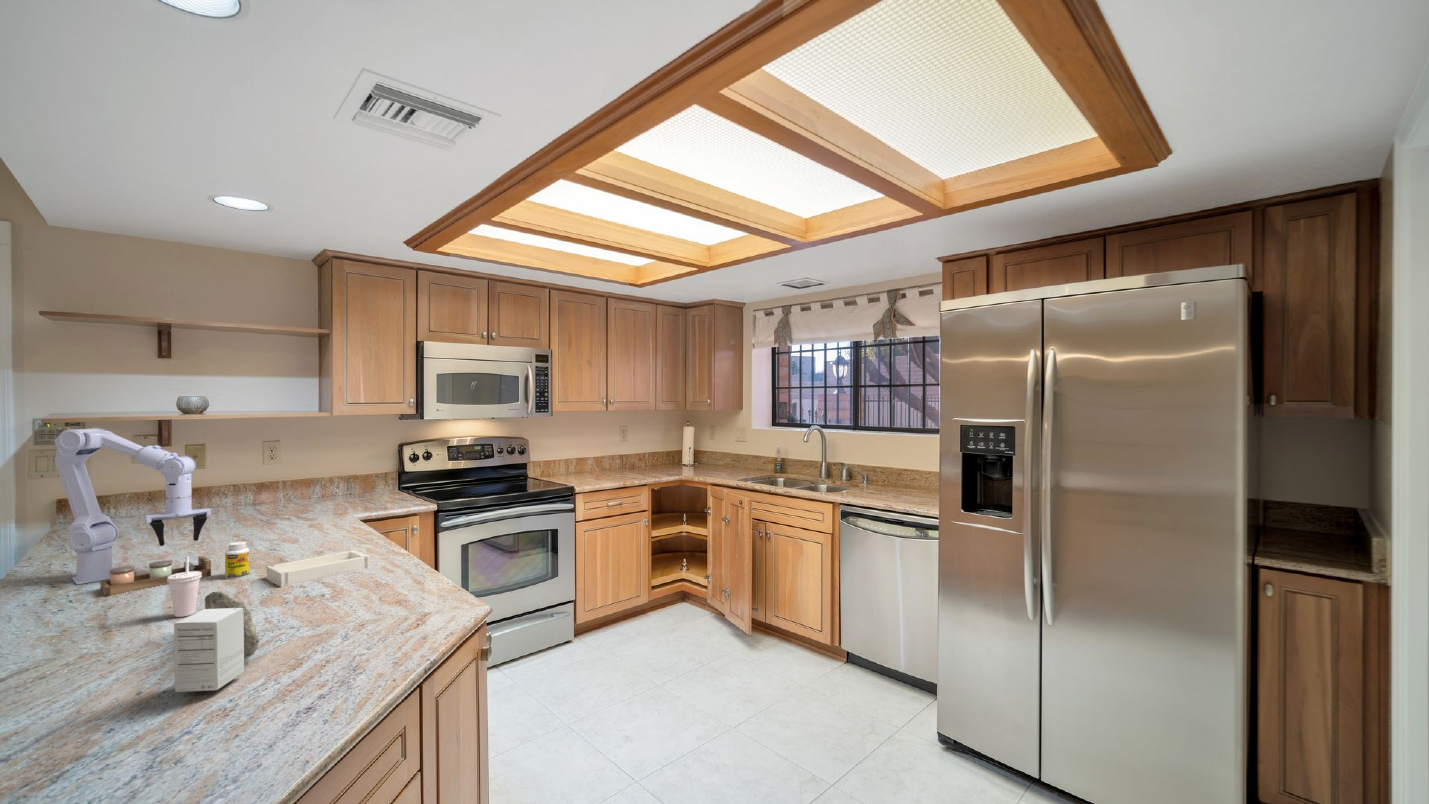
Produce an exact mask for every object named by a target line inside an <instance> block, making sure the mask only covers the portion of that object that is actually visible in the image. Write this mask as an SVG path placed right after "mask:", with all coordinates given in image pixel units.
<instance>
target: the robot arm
mask: <svg viewBox="0 0 1429 804" xmlns="http://www.w3.org/2000/svg"><path fill="white" fill-rule="evenodd" d="M53 442H54V444H55V447H56V452H55V459H54V463H55V466H56V469H57V472H58V475H59V478H60V481H61V484H62V486H63V490H64V492H65V495H66V498H67V500H68V501H67V502H68V504H69V507H70V510H71V512H72V516H73V518H74V520H73V522H72V523H71V524H70V525H69V527H68V532H69V536H68V544H69V547H70V548H72V549H73V550H74V552H75V553H76V554H75V555H76V558H75V560H76V563H75V564H76V568H75V569H76V576H72V577H71V579H72V581H73V582H74V583H75V584H76V585H82V584H83V585H84V584H87V583H93V582H94V583H95V582H100V581H106V580H110V570H111V569H113V546H114V542H115V541H116V540H117V539H118V538H119V535H120V530H119V528H118V527H117V526H116V525H115V524H114V523H113V521H112V519H111V517H110V516H108V515H106V514H104V513H103V512H102V510H101V507H100V504H99V502H98V499H97V495H96V493H95V490H94V486H93V484H92V481H91V478H90V475H89V473H88V469H87V466H86V464H85V463H86V461H87V460H88V459H89V458H90V457H91V456H92V455H93V454H95V453H97V452H98V451H99V450H101V449H103V448H106V449H110V450H113V451H116V452H119V453H122V454H124V455H128V456H130V457H134V458H135V460H136V462H137V463H138V464H141V465H143V466H146V467H149V468H151V469H154V470H156V471H158V472H160V473H161V475H163V477H164V482H165V512H160V513H154V514H146V515H144V523H146V524H148V523H149V525H150V527H151V528H152V529H153V531H154V532H155V535H156V537H157V540H158V545H159V546H160V547H162V546H163V547H164V546H165V535H164V534H165V533H164V531H165V523H164V521H170V520H178V519H187V518H192V522H193V532H192V533H193V535H192V537H193V541H194V542H195V541H196V542H197V541H199V538H200V535H201V531H202V529H203V527H204V525H205V523H206V522H207V520H208V516H211V515H212V508H210V507H207V508H195V509H193V508H192V507H193V506H192V500H193V499H192V493H193V492H192V474H193V473H194V471H195V470H196V468H197V464H196V461H195V460H194V459H193V458H192V457H190V456H189V455H181V456H179V455H178V453H177V452H170V451H168V450H164V449H162V446H160V445H147V446H142V445H140V444H139V443H138V444H137V443H135V442H134V441H131V440H129V439H126V438H124V437H122V436H120V435H117V434H115V433H113V432H112V431H110V430H106V429H103V428H100V427H92V428H77V429H75V428H69V429H65V430H64V431H62V432H61V433H60V434H59V435H58V436H57V437H56V438H55V439H54V441H53Z"/></svg>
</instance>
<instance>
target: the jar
mask: <svg viewBox="0 0 1429 804" xmlns="http://www.w3.org/2000/svg"><path fill="white" fill-rule="evenodd" d="M172 565H173V561H172V560H160V561H153V562H150V563H149V564H148V566H149V567H148V568H149V573H150V579H152V578H158V577H163V576H169V575H172V569H173V567H172Z"/></svg>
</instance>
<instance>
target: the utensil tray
mask: <svg viewBox="0 0 1429 804" xmlns="http://www.w3.org/2000/svg"><path fill="white" fill-rule="evenodd" d="M368 568H369V569H370V568H371V555H368V554H366V553H363V552H360V551H357V550H353V549H352V550H347V551H346V550H345V551H342V552H336V553H330V554H326V555H325V554H324V555H320V556H316V557H310V558H309V557H308V558H304V559H300V560H299V559H298V560H294V561H288V562H284V563H283V562H282V563H277V564H273V565H267V566H266V580H268V581H270V582H271V583H273V584H275V585H277V586H278V587H280V588H284V587H290V586H293V585H298V584H304V583H308V582H311V581H317V580H321V579H324V578H329V577H330V578H331V577H333V576H339V575H342V574H347V573H350V572H356V571H360V570H364V569H368Z"/></svg>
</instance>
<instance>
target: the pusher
mask: <svg viewBox="0 0 1429 804" xmlns="http://www.w3.org/2000/svg"><path fill="white" fill-rule="evenodd" d="M194 565H195V564H194V563H191V562H190V561H189V572H190V571H196V567H194ZM183 567H184V572H186V561H184V562H183Z"/></svg>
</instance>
